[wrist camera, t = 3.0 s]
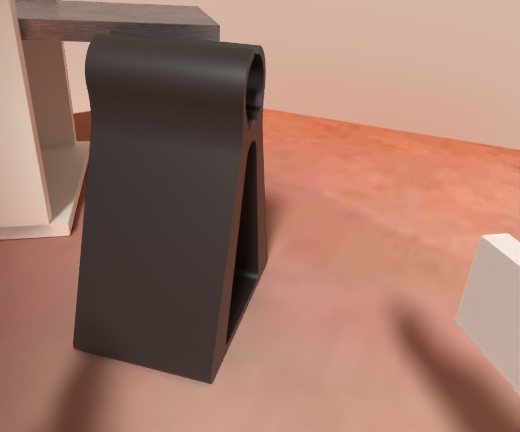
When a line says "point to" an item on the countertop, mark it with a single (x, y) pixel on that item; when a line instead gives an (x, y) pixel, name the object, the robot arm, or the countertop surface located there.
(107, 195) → the phone stand
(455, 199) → the countertop surface
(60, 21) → the trapdoor
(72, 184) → the frame
